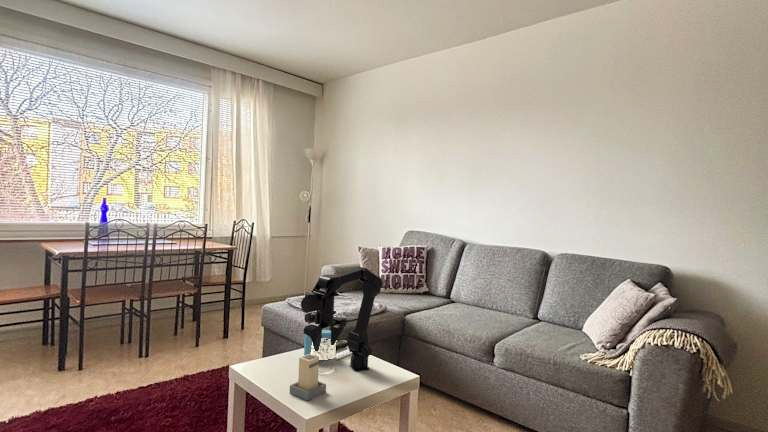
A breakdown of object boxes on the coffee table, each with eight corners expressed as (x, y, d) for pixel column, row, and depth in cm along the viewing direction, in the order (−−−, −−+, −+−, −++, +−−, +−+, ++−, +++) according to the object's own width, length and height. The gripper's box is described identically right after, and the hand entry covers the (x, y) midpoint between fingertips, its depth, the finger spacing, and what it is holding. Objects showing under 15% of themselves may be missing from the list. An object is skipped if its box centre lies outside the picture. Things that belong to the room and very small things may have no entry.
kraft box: (307, 386, 159) (309, 353, 159) (317, 390, 156) (319, 357, 156) (297, 391, 155) (299, 357, 154) (307, 395, 152) (309, 361, 152)
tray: (307, 384, 162) (308, 377, 162) (325, 392, 157) (326, 384, 157) (289, 393, 154) (289, 385, 154) (308, 401, 149) (308, 392, 149)
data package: (330, 355, 193) (332, 329, 192) (332, 359, 188) (333, 332, 188) (303, 357, 189) (304, 330, 189) (304, 361, 185) (305, 333, 185)
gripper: (327, 300, 177) (325, 337, 178) (293, 308, 162) (292, 349, 162) (348, 305, 171) (346, 343, 172) (315, 314, 156) (313, 356, 156)
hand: (324, 348), depth 166 cm, fingers open, 9 cm apart
